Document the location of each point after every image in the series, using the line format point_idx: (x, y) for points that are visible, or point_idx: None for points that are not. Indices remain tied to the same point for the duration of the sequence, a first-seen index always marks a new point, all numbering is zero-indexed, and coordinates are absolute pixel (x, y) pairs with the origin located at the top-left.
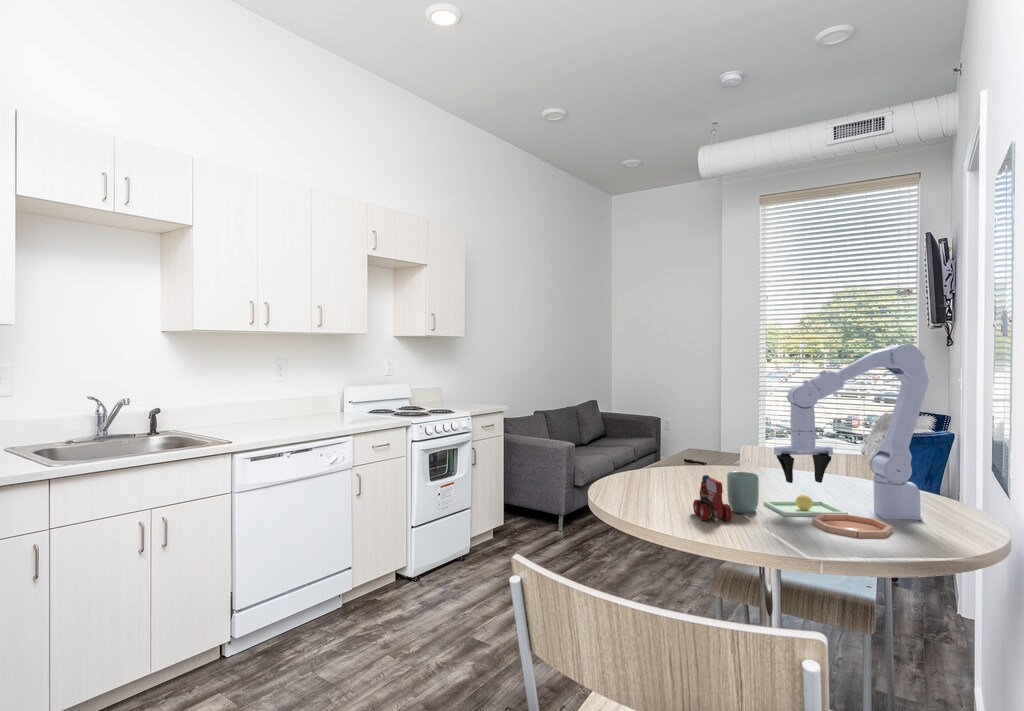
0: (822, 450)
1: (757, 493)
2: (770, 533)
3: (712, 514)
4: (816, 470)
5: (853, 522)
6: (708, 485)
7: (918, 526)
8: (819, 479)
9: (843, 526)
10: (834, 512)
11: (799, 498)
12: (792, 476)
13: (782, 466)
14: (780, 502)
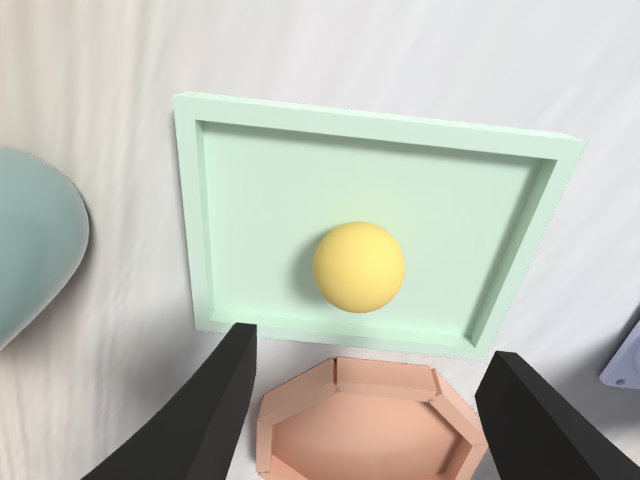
0: None
1: (19, 332)
2: (95, 426)
3: None
4: (549, 461)
5: (420, 407)
6: None
7: (628, 430)
8: (483, 423)
9: (347, 432)
10: (425, 353)
11: (322, 290)
12: (238, 431)
13: (137, 448)
14: (283, 127)
